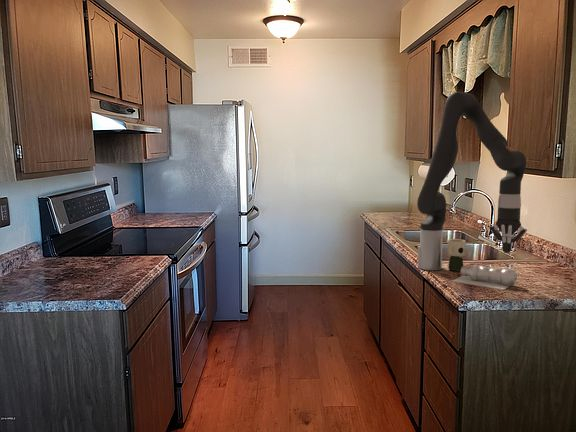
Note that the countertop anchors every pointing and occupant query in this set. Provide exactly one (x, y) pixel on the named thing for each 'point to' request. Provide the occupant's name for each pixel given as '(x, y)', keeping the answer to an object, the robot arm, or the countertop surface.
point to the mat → (480, 283)
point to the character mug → (456, 253)
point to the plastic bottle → (490, 274)
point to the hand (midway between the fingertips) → (506, 252)
